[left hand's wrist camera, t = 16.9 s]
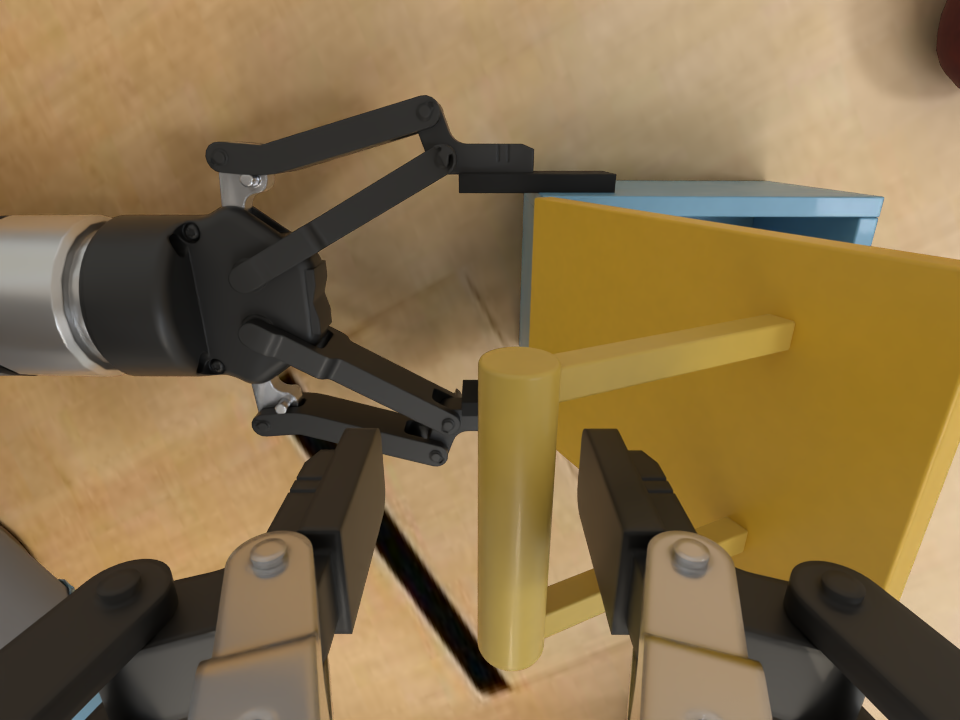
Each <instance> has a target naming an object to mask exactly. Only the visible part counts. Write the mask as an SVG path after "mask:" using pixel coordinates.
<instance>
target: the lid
mask: <svg viewBox="0 0 960 720" xmlns="http://www.w3.org/2000/svg"><path fill="white" fill-rule="evenodd" d="M585 428H616V429H618V431H619V433H620V435H621V437H622V439H623V441H624V443H625V445H626V447H627V449H628V450H642V451H643V452H645V453H646V454H647V455H648V456H650V457H651V458H652V459H654V460H655V461H656V462H657V463H658V464H659V465H660V467H661V469H662V471H663V473H664V474H665V476H666V480H667V481H668V482H669V483H670V485H671V487H672V489H673V493H675V494H676V496H677V498H678V500H679V501H680V503H681V505H682V507H683V509H684V510H685V512H686V514H687V516H688V518H689V519H690V521H691V523H692V525H693V527H694V528H695V530H696V532H697V534H699V535H702V536H704V537H706V538H708V539H710V540H712V541H714V542H716V543H717V544H718V545H720V546H721V547H722V548H723V549H724V550H725V551H726V552H727V553H728V554H729V555H730V557H731V558H732V560H733V562H734V566H735V567H736V568H739V569H741V570H744V571H747V572H751V573H755V574H759V575H764V576H768V577H772V578H777V579H781V580H785V581H789V578H790V574H791V572H792V569H793V568H794V567H795V566H796V565H798V564H799V563H802V562H805V561H827V562H832V563H836V564H839V565H843V566H845V567H848V568H850V569H853V570H855V571H857V572H859V573H861V574H863V575H864V576H866V577H868V578H869V579H871V580H872V581H873V582H875V583H876V584H877V585H879V586H880V587H881V588H882V589H884V590H885V591H886V592H888V593H889V594H890V595H891V596H893V597H894V598H895V599H896V600H898V601H899V600H900V597H901V595H902V592H903V590H904V587H905V584H906V582H907V579H908V576H909V574H910V571H911V568H912V566H913V563H914V561H915V558H916V555H917V553H918V550H919V547H920V545H921V542H922V539H923V537H924V534H925V531H926V529H927V526H928V524H929V521H930V518H931V516H932V513H933V510H934V508H935V505H936V502H937V500H938V497H939V495H940V492H941V489H942V487H943V484H944V481H945V479H946V476H947V473H948V471H949V468H950V465H951V463H952V460H953V458H954V455H955V452H956V450H957V447H958V444H959V442H960V260H957V259H950V258H944V257H937V256H931V255H924V254H918V253H911V252H905V251H899V250H892V249H886V248H879V247H873V246H866V245H860V244H853V243H847V242H840V241H834V240H828V239H821V238H815V237H808V236H802V235H795V234H789V233H782V232H776V231H769V230H763V229H757V228H750V227H744V226H737V225H731V224H724V223H718V222H711V221H705V220H698V219H692V218H686V217H679V216H673V215H666V214H660V213H653V212H647V211H640V210H634V209H627V208H621V207H615V206H608V205H602V204H595V203H589V202H582V201H576V200H569V199H563V198H556V197H537V198H535V200H534V225H533V251H532V277H531V303H530V329H529V347H505V348H499V349H495V350H491V351H489V352H487V353H485V354H483V355H482V356H481V358H480V360H479V362H478V647H479V650H480V652H481V654H482V655H483V657H484V658H485V659H486V661H487V662H489V663H490V664H491V665H493V666H494V667H496V668H498V669H501V670H505V671H519V670H523V669H526V668H528V667H530V666H531V665H533V664H534V663H535V662H536V661H537V660H538V658H539V657H540V656H541V654H542V651H543V647H544V638H547V637H549V636H551V635H554V634H556V633H558V632H560V631H563V630H565V629H567V628H570V627H572V626H574V625H576V624H579V623H581V622H583V621H586V620H588V619H590V618H593V617H595V616H597V615H599V614H602V613H604V612H605V609H604V605H603V601H602V597H601V594H600V590H599V586H598V582H597V579H596V575H595V571H594V569H591V570H589V571H586V572H584V573H581V574H578V575H576V576H573V577H571V578H568V579H566V580H563V581H561V582H558V583H555V584H553V585H550V586H548V587H547V585H548V570H549V554H550V538H551V522H552V506H553V491H554V475H555V459H556V450H557V451H558V452H560V453H561V454H562V455H563V456H564V457H565V458H567V459H568V460H569V461H570V462H571V463H573V464H574V465H575V466H576V467H577V468H578V469H579V463H580V450H581V438H582V432H583V430H584V429H585Z"/></svg>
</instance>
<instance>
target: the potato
mask: <svg viewBox="0 0 960 720" xmlns="http://www.w3.org/2000/svg"><path fill="white" fill-rule="evenodd" d="M936 51H937V54H938V58H939V62H940V65H941V67H942V69H943V70H944V72H945V73H946V74H947V76H948V77H949V78H950V79H951V80H952V81H953V82H954V84H955V85H956V86H957V87H958V88H960V0H947V2H946V5H945V7H944V9H943V12H942V15H941V19H940V24H939V28H938V35H937V48H936Z"/></svg>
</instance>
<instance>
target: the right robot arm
mask: <svg viewBox="0 0 960 720" xmlns="http://www.w3.org/2000/svg"><path fill="white" fill-rule="evenodd" d="M416 134H419V136H420V139H421V142H422V144H423V147H424V150H425V152H424V153H422V154H421V155H419V156H417V157H416V158H414V159H413V160H411V161H409V162H408V163H406V164H404V165H403V166H401V167H399V168H398V169H396V170H395V171H393V172H391V173H390V174H388V175H386V176H385V177H383V178H381V179H380V180H378V181H377V182H375V183H373V184H372V185H370V186H368V187H367V188H365V189H363V190H362V191H360V192H359V193H357V194H355V195H354V196H352V197H350V198H349V199H347V200H345V201H344V202H342V203H341V204H339V205H337V206H336V207H334V208H332V209H331V210H329V211H327V212H326V213H324V214H323V215H321V216H319V217H318V218H316V219H314V220H313V221H311V222H309V223H307V224H306V225H304V226H302V227H301V228H299V229H297V230H296V231H294V232H291V231H289V230H288V229H286V228H285V227H283V226H282V225H280V224H279V223H277V222H276V221H274V220H273V219H271V218H270V217H268V216H267V215H265V214H264V213H262V212H261V211H260V210H258V209H257V208H255V207H253V206H252V204H253V199H254V197H255V196H256V195H257V194H258V193H260V192H265V191H268V190H270V189H271V188H272V187H273V185H274V182H275V175H274V174H278V173H285V172H291V171H296V170H300V169H303V168H307V167H310V166H313V165H317V164H320V163H323V162H326V161H330V160H333V159H336V158H340V157H343V156H346V155H350V154H353V153H356V152H359V151H363V150H366V149H369V148H373V147H376V146H379V145H383V144H386V143H389V142H393V141H396V140H399V139H402V138H406V137H409V136H412V135H416ZM206 160H207V163H208V164H209V166H210V167H211V168H212V169H214V170H215V171H217V172H219V179H220V190H221V201H222V207H220V208H218V209H217V210H215V211H214V212H212V213H210V214H208V215H121V216H117V217H114V218H111V217H107V216H104V215H10V216H0V376H12V375H21V376H37V375H53V376H99V377H112V376H120V375H123V374H128V375H132V376H210V375H230V376H234V377H237V378H239V379H241V380H243V381H245V382H248V383H252V387H253V391H254V395H255V399H256V403H257V407H258V414H257V415H256V416H255V418H254V419H253V421H252V428H253V430H254V431H255V432H256V433H257V434H259V435H261V436H280V435H295V434H301V435H305V436H309V437H313V438H318V439H322V440H326V441H330V442H334V443H339V440H340V438H341V436H342V434H343V432H344V430H345V429H346V428H379V430H380V433H381V441H382V454H385V455H389V456H393V457H397V458H402V459H406V460H410V461H414V462H418V463H423V464H427V465H431V466H441V465H443V464H444V463H446V461H447V459H448V453H449V450H450V448H451V445H452V443H453V440H454V438H455V437H456V436H457V435H458V434H459V433H461V432H464V431H478V380H463V388H462V394H461V392H460V391H459V390H458V389H456V391H455V393H452V392H450V391H448V390H446V389H444V388H442V387H440V386H438V385H436V384H434V383H432V382H430V381H428V380H426V379H424V378H423V377H421V376H419V375H417V374H415V373H413V372H411V371H409V370H407V369H405V368H403V367H401V366H399V365H397V364H395V363H393V362H391V361H389V360H387V359H385V358H383V357H381V356H379V355H377V354H375V353H373V352H371V351H369V350H367V349H365V348H363V347H361V346H359V345H357V344H355V343H353V342H352V341H350V339H349V338H348V336H346V335H345V334H344V333H342V332H340V331H338V330H336V329H334V328H332V327H330V326H329V325H330V324H331V322H332V319H331V309H330V305H329V303H328V300H327V297H326V295H325V285H326V279H327V271H326V261H325V260H321V258H320V256H319V254H318V253H317V252H319V251H320V250H322V249H323V248H325V247H327V246H328V245H330V244H332V243H333V242H335V241H337V240H338V239H340V238H342V237H343V236H345V235H347V234H348V233H350V232H352V231H353V230H355V229H357V228H358V227H360V226H362V225H363V224H365V223H367V222H369V221H370V220H372V219H374V218H375V217H377V216H379V215H380V214H382V213H384V212H385V211H387V210H389V209H390V208H392V207H394V206H395V205H397V204H399V203H400V202H402V201H404V200H405V199H407V198H409V197H410V196H412V195H414V194H415V193H417V192H419V191H420V190H422V189H424V188H425V187H427V186H429V185H431V184H432V183H434V182H436V181H437V180H439V179H441V178H442V177H444V176H446V175H447V174H459V193H615V184H616V174H613V173H609V172H604V171H533V163H534V149H533V148H530V147H528V146H526V145H523V144H465V143H461V142H459V141H457V140H456V139H455V138H454V137H453V136H452V134H451V132H450V130H449V127H448V124H447V121H446V119H445V116H444V113H443V109H442V107H441V105H440V104H439V103H438V102H437V101H436V100H435V99H433V98H432V97H430V96H427V95H423V96H418V97H415V98H411V99H408V100H405V101H402V102H399V103H395V104H392V105H389V106H386V107H382V108H379V109H376V110H373V111H369V112H366V113H363V114H360V115H357V116H353V117H350V118H347V119H344V120H340V121H337V122H334V123H331V124H327V125H324V126H321V127H318V128H315V129H311V130H308V131H305V132H302V133H298V134H295V135H292V136H289V137H285V138H282V139H279V140H276V141H273V142H269V143H266V144H262V143H250V142H214V143H212V144H210V145H209V146H208V148H207V150H206ZM290 366H292V367H294V368H297V369H299V370H301V371H303V372H305V373H307V374H309V375H311V376H313V377H315V378H318V379H330V380H333V381H335V382H337V383H339V384H341V385H343V386H345V387H347V388H349V389H351V390H353V391H355V392H357V393H359V394H361V395H364V396H366V397H368V398H370V399H372V400H374V401H376V402H378V403H380V404H382V405H384V406H386V407H388V408H390V409H392V410H394V411H396V412H393V411H389V410H385V409H381V408H377V407H373V406H369V405H365V404H361V403H357V402H353V401H349V400H345V399H341V398H337V397H333V396H328V395H324V394H319V393H309V392H304V393H302V392H301V388H300V387H299V386H298V385H288V384H285V383H283V382H282V381H281V380H280V379H279V378H278V375H279V374H280V373H281V372H283V371H284V370H285V369H287V368H288V367H290ZM397 412H398V413H397ZM74 591H75V589H74V587H73V586H71V585H70V584H69V583H68V582H67V581H66V580H64V579H57V578H55V577H54V576H53V575H52V574H51V573H50V572H49V571H48V570H46V569H45V568H44V567H43V566H42V565H41V564H40V563H38V562H37V561H36V560H35V559H34V558H33V557H32V556H31V555H29V553H28V552H27V551H26V549H25V548H24V547H23V546H22V545H21V544H20V543H19V541H18V540H17V539H16V538H15V537H14V536H12V535H11V534H10V533H9V532H8V531H7V530H6V529H4V528H3V527H2V526H1V525H0V649H2V648H3V647H4V646H5V645H7V644H8V643H9V642H10V641H12V640H13V639H14V638H15V637H17V636H18V635H19V634H21V633H22V632H23V631H24V630H26V629H27V628H28V627H29V626H31V625H32V624H33V623H34V622H36V621H37V620H38V619H40V618H41V617H42V616H43V615H45V614H46V613H47V612H48V611H50V610H51V609H52V608H53V607H55V606H56V605H57V604H59V603H60V602H61V601H62V600H64V599H65V598H66V597H67V596H69V595H70V594H71V593H72V592H74ZM101 702H102V700H101V697H100V694H99V692H98V693H97V694H96V695H95V696H94V697H93V698H92V699H91V700H90V701H89V702H88V703H87V705H86V706H85V707H84V708H83V709H82V710H81V711H80V712H79V713H78V714H77V715H76V716H75V717H74V718H73V719H72V720H85V719H86V718H87V717H88V716H89V715H90V714H91V713H92V712H93V711H94V710H95V709H96V707H97V706H98V705H99V704H100V703H101Z"/></svg>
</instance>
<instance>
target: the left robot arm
mask: <svg viewBox="0 0 960 720" xmlns="http://www.w3.org/2000/svg"><path fill="white" fill-rule="evenodd" d="M577 496H578V509H579V515H580V519H581V522H582V526H583V530H584V534H585V537H586V541H587V545H588V549H589V552H590V556H591V560H592V564H593V567H594V571H595V575H596V579H597V582H598V586H599V590H600V594H601V597H602V601H603V605H604V609H605V612H606V616H607V620H608V624H609V627H610V631H611V635H630V638H631V642H632V645H633V652H632V659H631V667H630V679H629V692H628V704H627V717H626V720H875V719H874V718H873V717H872V716H871V715H870V714H869V713H868V712H867V711H866V710H865V709H864V707H863V706H862V704H863V701H864V698H865V696H866V697H867V698H868V699H869V700H870V701H871V702H872V703H873V704H874V706H875V707H876V708H877V709H878V710H879V711H880V712H881V713H882V714H883V715H884V716H885V717H886V718H887V719H888V720H960V649H958V648H957V647H956V646H955V645H953V644H952V643H951V642H950V641H948V640H947V639H946V638H945V637H943V636H942V635H941V634H939V633H938V632H937V631H936V630H934V629H933V628H932V627H931V626H929V625H928V624H927V623H926V622H924V621H923V620H922V619H920V618H919V617H918V616H917V615H915V614H914V613H913V612H912V611H910V610H909V609H908V608H907V607H905V606H904V605H903V604H901V603H900V602H899V601H898V600H896V599H895V598H894V597H893V596H891V595H890V594H889V593H888V592H886V591H885V590H884V589H882V588H881V587H880V586H879V585H877V584H876V583H875V582H873V581H872V580H871V579H869V578H868V577H866V576H864V575H863V574H861V573H859V572H857V571H855V570H853V569H850V568H848V567H845V566H843V565H839V564H836V563H832V562H827V561H805V562H802V563H799V564H798V565H796V566H795V567H794V568H793V569H792V572H791V574H790V578H789V581H785V580H781V579H777V578H772V577H768V576H764V575H759V574H755V573H751V572H747V571H744V570H741V569H739V568H736V567H735V566H734V562H733V560H732V558H731V557H730V555H729V554H728V553H727V552H726V551H725V550H724V549H723V548H722V547H721V546H720V545H718V544H717V543H716V542H714V541H712V540H710V539H708V538H706V537H704V536H702V535H699V534H697V532H696V530H695V528H694V527H693V525H692V523H691V521H690V519H689V518H688V516H687V514H686V512H685V510H684V509H683V507H682V505H681V503H680V501H679V500H678V498H677V496H676V494H675V493H673V489H672V487H671V485H670V483H669V482H668V481H667V480H666V476H665V474H664V473H663V471H662V469H661V467H660V465H659V464H658V463H657V462H656V461H655V460H654V459H652V458H651V457H650V456H648V455H647V454H646V453H645V452H643V451H642V450H628V449H627V447H626V445H625V443H624V441H623V439H622V437H621V435H620V433H619V431H618V429H616V428H585V429H584V430H583V432H582V438H581V450H580V463H579V475H578V489H577ZM384 505H385V480H384V467H383V454H382V441H381V433H380V430H379V428H346V429H345V430H344V432H343V434H342V436H341V438H340V440H339V443H338V445H337V447H336V449H335V450H320V451H319V452H318V453H316V454H315V455H314V456H313V457H311V458H310V459H309V460H307V461H306V462H305V463H304V465H303V467H302V469H301V471H300V472H299V474H298V476H297V480H295V482H294V483H293V485H292V487H291V489H290V493H288V494H287V496H286V498H285V500H284V502H283V503H282V505H281V507H280V509H279V511H278V513H277V514H276V516H275V518H274V520H273V522H272V524H271V525H270V527H269V529H268V531H267V533H264V534H261V535H258V536H256V537H254V538H252V539H249V540H248V541H246V542H244V543H243V544H242V545H240V546H239V547H238V548H237V549H236V550H235V551H234V552H233V553H232V554H231V555H230V557H229V558H228V560H227V562H226V565H225V568H223V569H220V570H217V571H214V572H210V573H206V574H201V575H197V576H193V577H188V578H184V579H179V580H175V581H173V577H172V573H171V570H170V568H169V567H168V566H167V565H166V564H165V563H163V562H161V561H158V560H154V559H138V560H132V561H127V562H124V563H121V564H118V565H115V566H113V567H110V568H108V569H106V570H104V571H102V572H100V573H98V574H97V575H95V576H93V577H92V578H91V579H89V580H88V581H86V582H85V583H84V584H83V585H81V586H80V587H79V588H78V589H76V590H75V591H74V592H72V593H71V594H70V595H69V596H67V597H66V598H65V599H64V600H62V601H61V602H60V603H59V604H57V605H56V606H55V607H53V608H52V609H51V610H50V611H48V612H47V613H46V614H45V615H43V616H42V617H41V618H40V619H38V620H37V621H36V622H34V623H33V624H32V625H31V626H29V627H28V628H27V629H26V630H24V631H23V632H22V633H21V634H19V635H18V636H17V637H15V638H14V639H13V640H12V641H10V642H9V643H8V644H7V645H5V646H4V647H3V648H2V649H0V720H72V719H73V718H74V717H75V716H76V715H77V714H78V713H79V712H80V711H81V710H82V709H83V708H84V707H85V706H86V705H87V703H88V702H89V701H90V700H91V699H92V698H93V697H94V696H95V695H96V694H97V693H98V692H99V694H100V697H101V700H102V702H101V703H100V704H99V705H98V706H97V707H96V709H95V710H94V711H93V712H92V713H91V714H90V715H89V716H88V717H87V718H86V719H85V720H334V717H333V704H332V692H331V679H330V667H329V659H328V653H329V650H330V647H331V643H332V640H333V637H334V634H352V632H353V628H354V624H355V621H356V617H357V613H358V609H359V605H360V601H361V598H362V594H363V590H364V586H365V582H366V578H367V575H368V571H369V567H370V563H371V559H372V555H373V551H374V548H375V544H376V540H377V536H378V532H379V528H380V525H381V521H382V517H383V512H384Z"/></svg>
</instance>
